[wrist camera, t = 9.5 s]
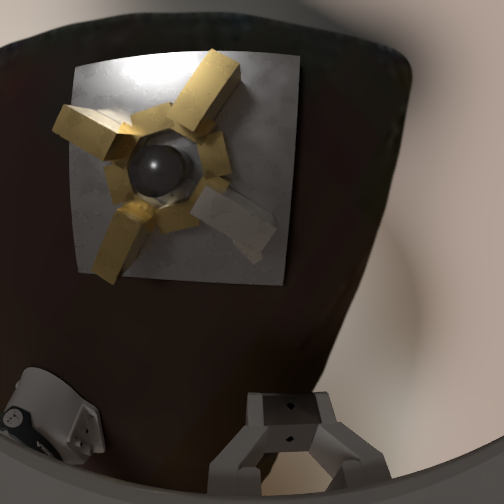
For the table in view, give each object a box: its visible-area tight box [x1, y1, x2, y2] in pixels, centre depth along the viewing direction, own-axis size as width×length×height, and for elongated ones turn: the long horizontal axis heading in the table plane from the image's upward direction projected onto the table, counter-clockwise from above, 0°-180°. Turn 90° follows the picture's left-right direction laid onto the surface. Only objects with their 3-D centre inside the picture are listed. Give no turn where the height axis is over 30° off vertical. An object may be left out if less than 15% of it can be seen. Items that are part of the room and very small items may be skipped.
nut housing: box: [69, 51, 300, 286], centre depth 24 cm, size 22×22×7 cm
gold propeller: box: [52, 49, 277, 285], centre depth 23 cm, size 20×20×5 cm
